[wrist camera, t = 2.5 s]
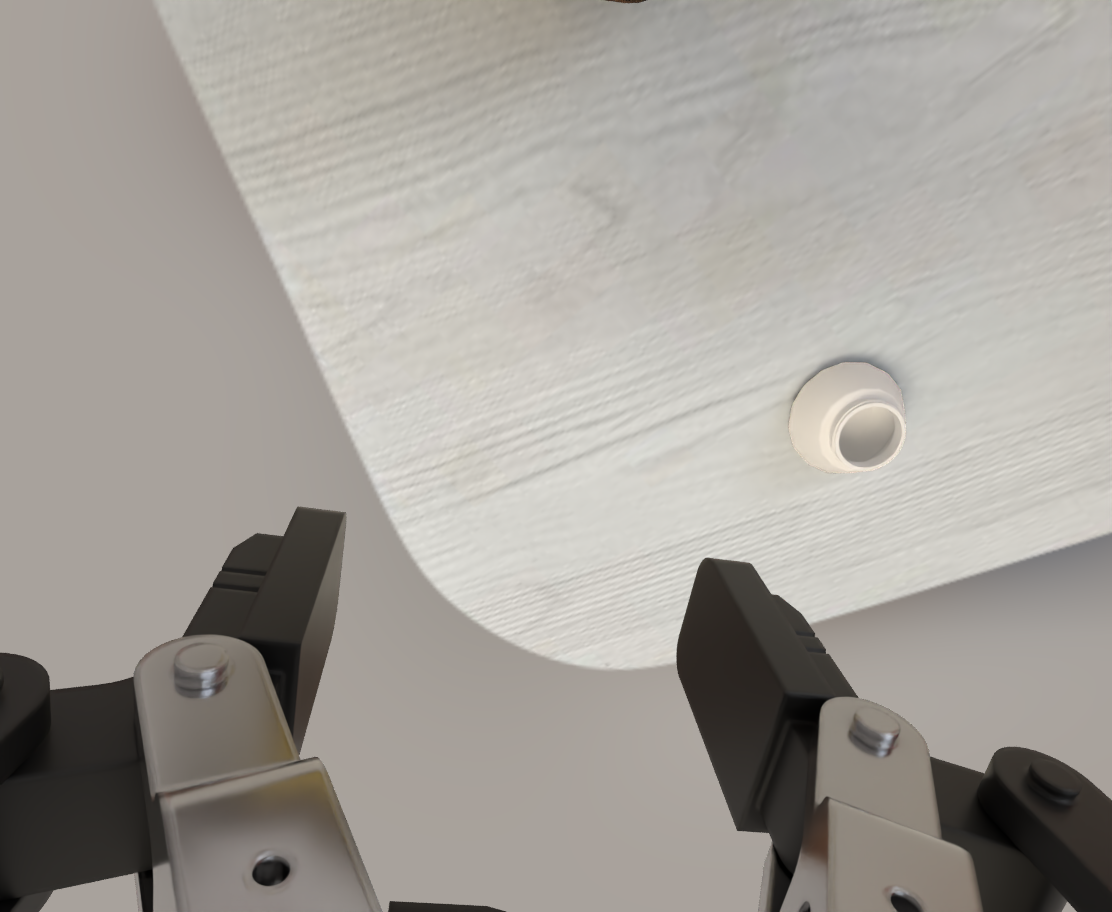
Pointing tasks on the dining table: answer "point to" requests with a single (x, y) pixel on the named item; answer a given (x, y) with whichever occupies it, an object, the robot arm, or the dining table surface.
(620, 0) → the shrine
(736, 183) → the dining table surface
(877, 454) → the white jar
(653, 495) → the dining table surface
